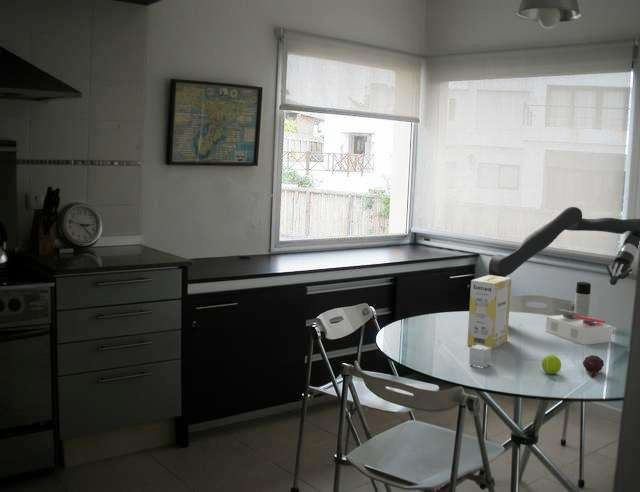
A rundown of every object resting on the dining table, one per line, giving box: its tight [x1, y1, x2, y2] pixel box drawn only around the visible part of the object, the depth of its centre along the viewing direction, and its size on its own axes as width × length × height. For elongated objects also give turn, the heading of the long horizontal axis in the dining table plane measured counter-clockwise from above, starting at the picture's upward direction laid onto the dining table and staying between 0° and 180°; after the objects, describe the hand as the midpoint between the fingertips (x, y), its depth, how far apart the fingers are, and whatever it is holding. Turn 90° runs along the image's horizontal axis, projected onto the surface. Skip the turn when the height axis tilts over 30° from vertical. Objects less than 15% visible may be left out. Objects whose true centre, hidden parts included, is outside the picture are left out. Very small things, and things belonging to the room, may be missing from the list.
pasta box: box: [466, 274, 512, 350], centre depth 309 cm, size 18×10×28 cm, turn 144°
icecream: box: [582, 354, 605, 378], centre depth 273 cm, size 7×7×15 cm
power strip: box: [545, 313, 614, 346], centre depth 326 cm, size 16×24×8 cm
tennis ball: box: [541, 354, 562, 375], centre depth 271 cm, size 7×7×7 cm
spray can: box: [573, 281, 592, 317], centre depth 351 cm, size 7×7×20 cm
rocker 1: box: [553, 307, 585, 316], centre depth 331 cm, size 14×5×2 cm, turn 114°
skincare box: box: [468, 344, 492, 368], centre depth 278 cm, size 6×6×7 cm
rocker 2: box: [573, 314, 606, 324], centre depth 320 cm, size 14×5×2 cm, turn 114°
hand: (612, 283), depth 329 cm, fingers closed
